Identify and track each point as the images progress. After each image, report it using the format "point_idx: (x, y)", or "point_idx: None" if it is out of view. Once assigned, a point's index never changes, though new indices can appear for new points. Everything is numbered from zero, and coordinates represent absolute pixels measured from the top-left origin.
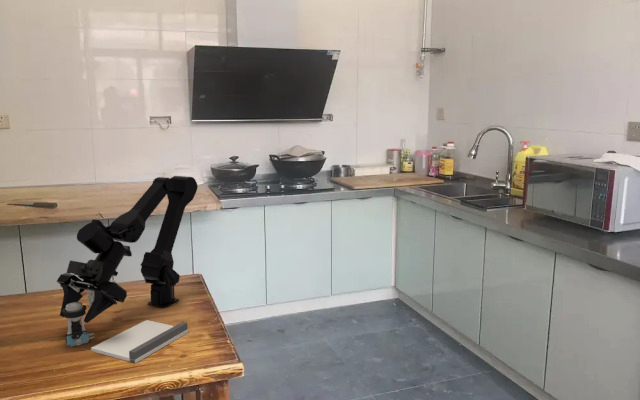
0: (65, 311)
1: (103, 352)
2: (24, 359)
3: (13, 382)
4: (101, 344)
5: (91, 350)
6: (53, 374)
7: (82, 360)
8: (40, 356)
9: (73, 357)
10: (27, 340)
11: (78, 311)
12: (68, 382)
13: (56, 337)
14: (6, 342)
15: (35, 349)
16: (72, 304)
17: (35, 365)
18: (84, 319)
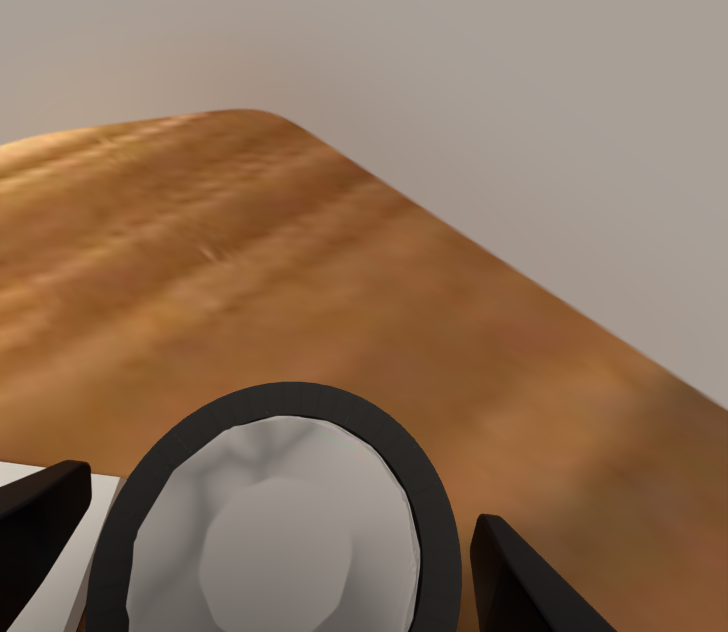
0: (330, 411)
1: (1, 462)
2: (437, 292)
3: (306, 154)
4: (62, 554)
5: (126, 480)
6: (186, 225)
7: (119, 362)
8: (390, 336)
9: (197, 376)
10: (653, 473)
11: (139, 471)
12: (71, 192)
13: None
14: (723, 411)
15: (490, 391)
16: (317, 556)
17: (334, 263)
18: (71, 467)
